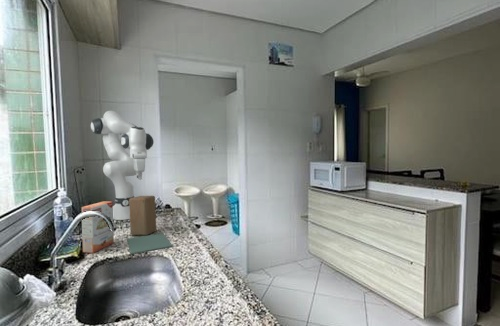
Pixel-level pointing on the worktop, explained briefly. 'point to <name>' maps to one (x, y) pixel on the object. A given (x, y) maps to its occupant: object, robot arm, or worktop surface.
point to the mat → (148, 243)
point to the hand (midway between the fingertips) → (139, 178)
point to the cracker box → (97, 228)
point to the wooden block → (142, 215)
